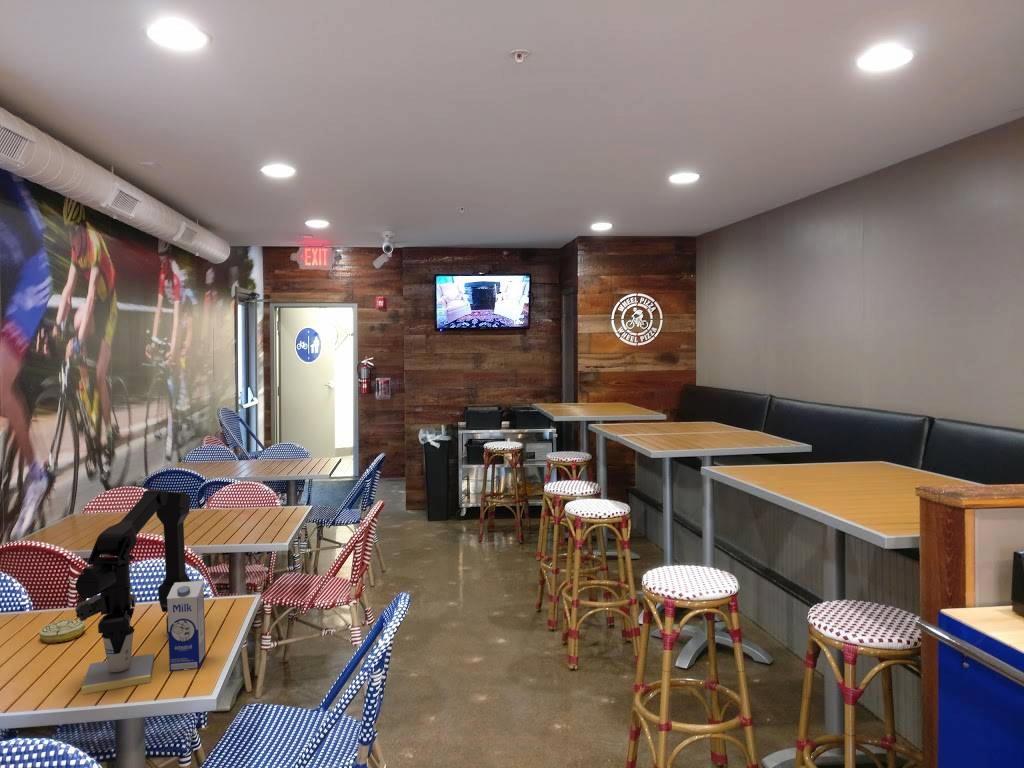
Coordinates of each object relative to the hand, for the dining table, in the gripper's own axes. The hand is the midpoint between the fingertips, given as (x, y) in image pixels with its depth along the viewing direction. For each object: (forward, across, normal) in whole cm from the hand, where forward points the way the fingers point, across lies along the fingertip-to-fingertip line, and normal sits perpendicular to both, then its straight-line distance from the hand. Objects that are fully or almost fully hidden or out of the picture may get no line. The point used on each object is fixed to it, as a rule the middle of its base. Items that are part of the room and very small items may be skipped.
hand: (119, 647), depth 170 cm
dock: (+7, 0, 0) cm, 7 cm away
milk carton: (+7, 0, +15) cm, 17 cm away
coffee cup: (+5, 0, 0) cm, 5 cm away
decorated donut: (+8, -34, -17) cm, 39 cm away
